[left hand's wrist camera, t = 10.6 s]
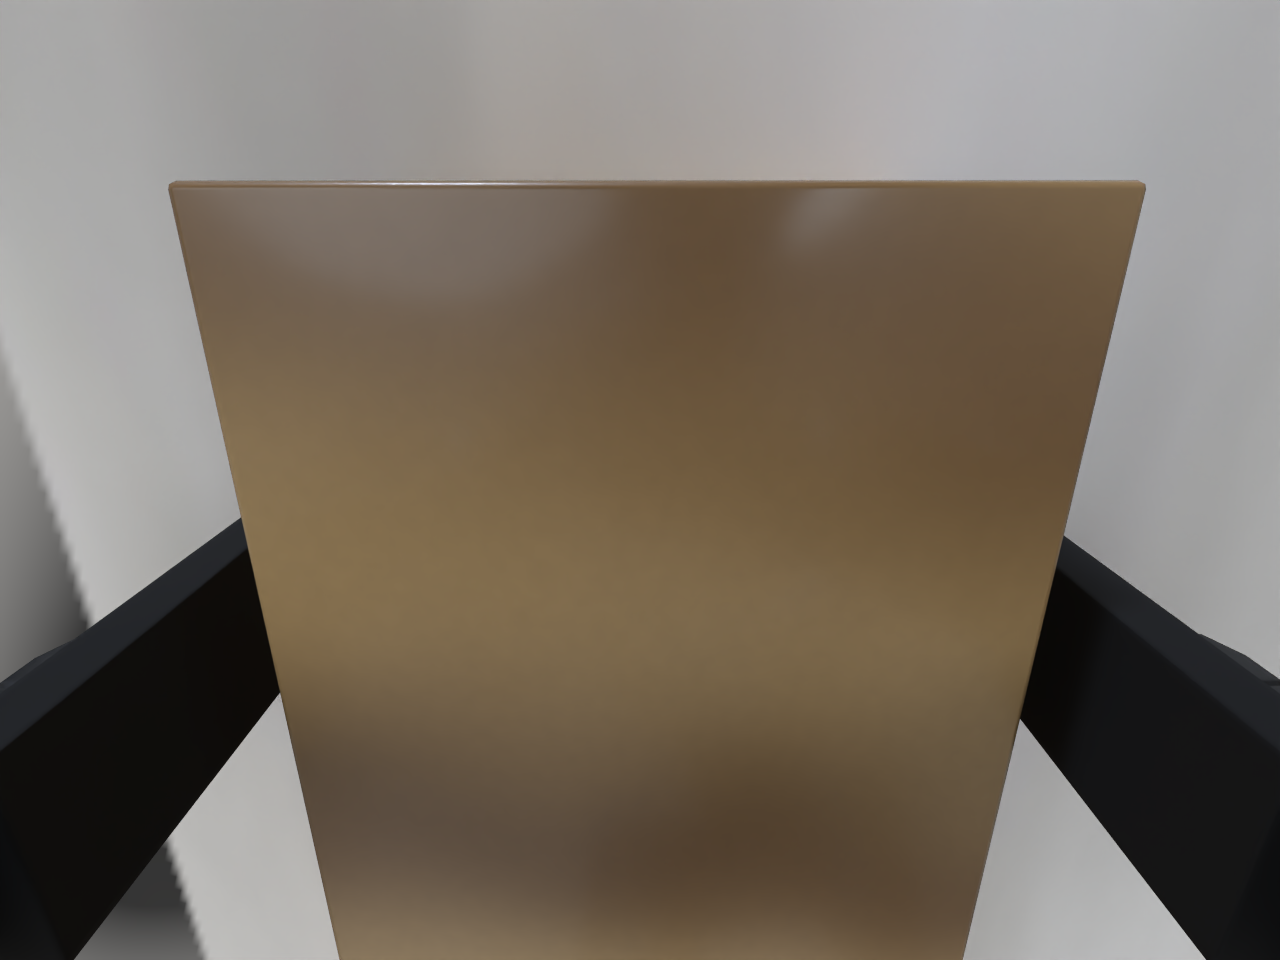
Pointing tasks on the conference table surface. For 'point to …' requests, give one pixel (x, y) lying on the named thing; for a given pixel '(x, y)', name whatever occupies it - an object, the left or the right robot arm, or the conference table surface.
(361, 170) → the conference table surface
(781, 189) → the thick board
